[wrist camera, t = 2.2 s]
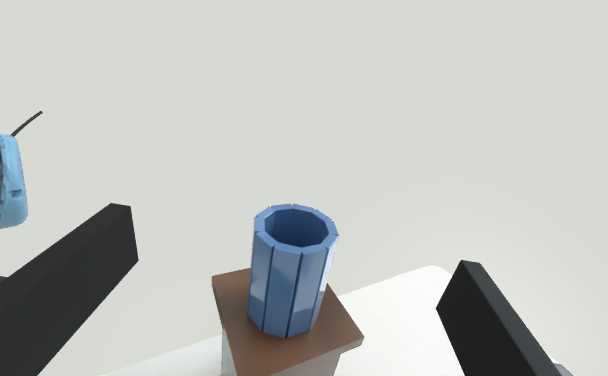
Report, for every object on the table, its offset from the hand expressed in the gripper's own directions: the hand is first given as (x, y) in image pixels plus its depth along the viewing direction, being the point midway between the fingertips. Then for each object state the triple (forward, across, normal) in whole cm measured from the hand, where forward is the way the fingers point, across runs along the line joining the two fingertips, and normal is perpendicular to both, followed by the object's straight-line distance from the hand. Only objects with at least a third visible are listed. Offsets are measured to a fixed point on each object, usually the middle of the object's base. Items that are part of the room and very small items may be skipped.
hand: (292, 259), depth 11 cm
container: (+10, 0, -14) cm, 17 cm away
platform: (+10, 0, -30) cm, 31 cm away
